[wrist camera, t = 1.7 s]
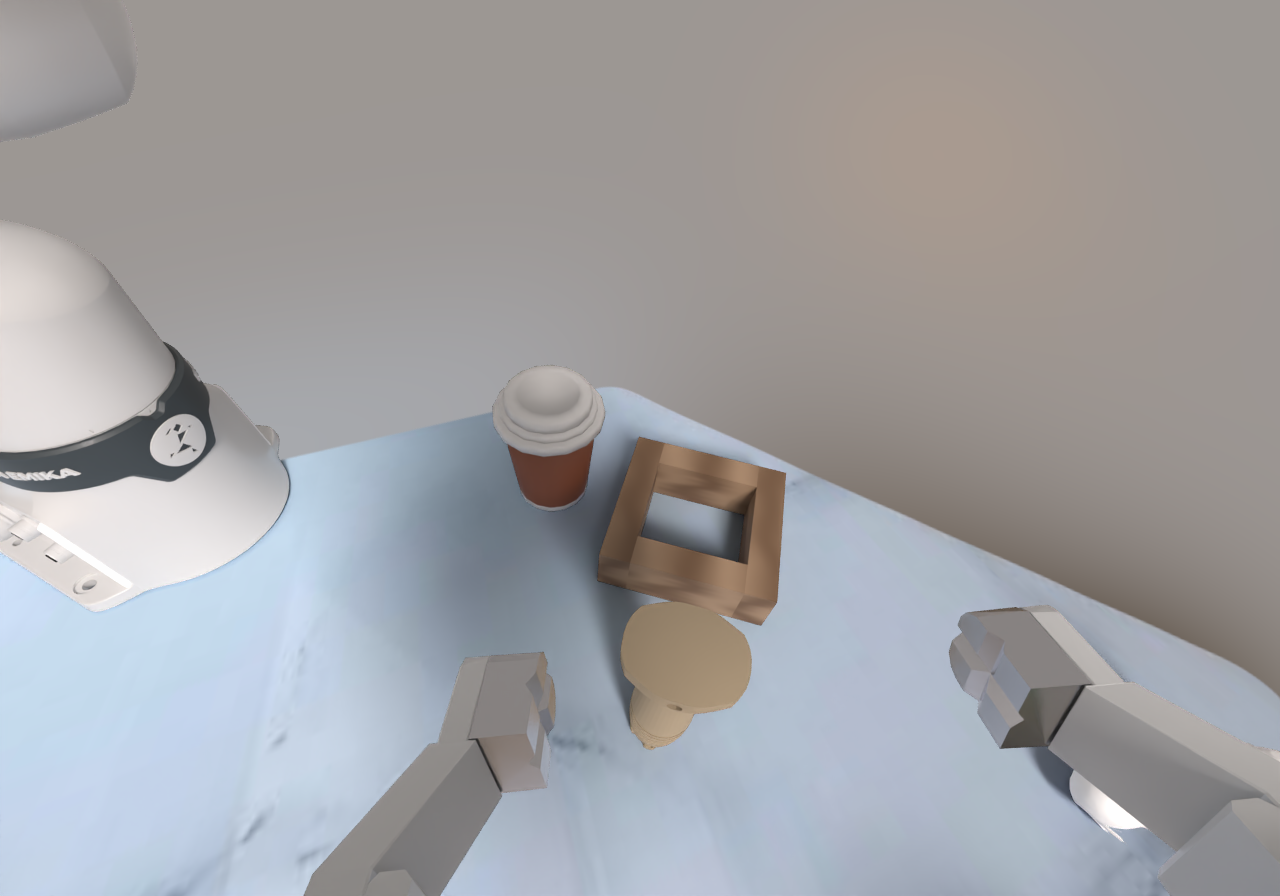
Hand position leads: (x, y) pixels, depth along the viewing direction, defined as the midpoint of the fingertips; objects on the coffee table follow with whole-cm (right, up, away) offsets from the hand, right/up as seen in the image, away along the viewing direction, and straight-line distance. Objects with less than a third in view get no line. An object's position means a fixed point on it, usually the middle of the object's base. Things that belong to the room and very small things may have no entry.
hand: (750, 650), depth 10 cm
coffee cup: (-11, 0, +39) cm, 41 cm away
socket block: (+3, -4, +37) cm, 37 cm away
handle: (-1, -16, +26) cm, 31 cm away
